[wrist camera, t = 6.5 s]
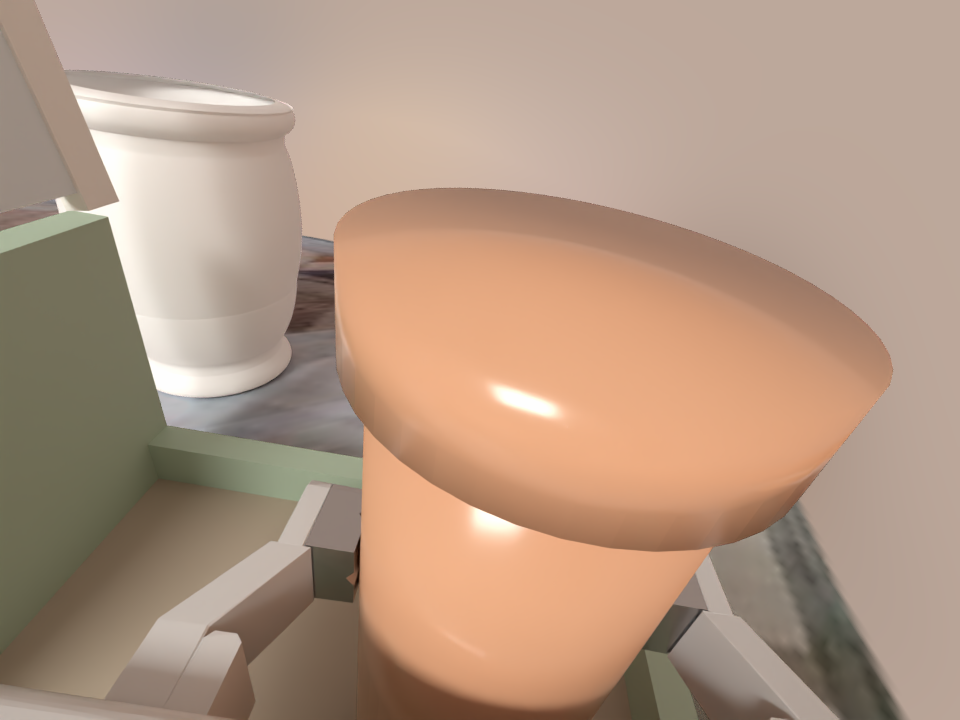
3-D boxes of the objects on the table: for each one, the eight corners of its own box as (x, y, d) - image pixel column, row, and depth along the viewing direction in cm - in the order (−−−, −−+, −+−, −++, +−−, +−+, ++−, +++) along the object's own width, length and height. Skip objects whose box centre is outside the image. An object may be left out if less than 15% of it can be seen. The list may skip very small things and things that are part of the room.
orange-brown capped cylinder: (305, 863, 11) (201, 339, 3) (372, 594, 17) (396, 168, 9) (575, 890, 11) (1109, 480, 3) (551, 617, 17) (729, 227, 9)
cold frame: (-312, 973, 9) (-1799, 767, 3) (154, 469, 21) (71, 210, 15) (735, 1113, 10) (1477, 1207, 3) (616, 545, 22) (729, 326, 15)
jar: (66, 397, 24) (-74, 63, 16) (182, 311, 33) (128, 67, 25) (269, 426, 25) (232, 117, 17) (329, 333, 33) (324, 102, 25)
